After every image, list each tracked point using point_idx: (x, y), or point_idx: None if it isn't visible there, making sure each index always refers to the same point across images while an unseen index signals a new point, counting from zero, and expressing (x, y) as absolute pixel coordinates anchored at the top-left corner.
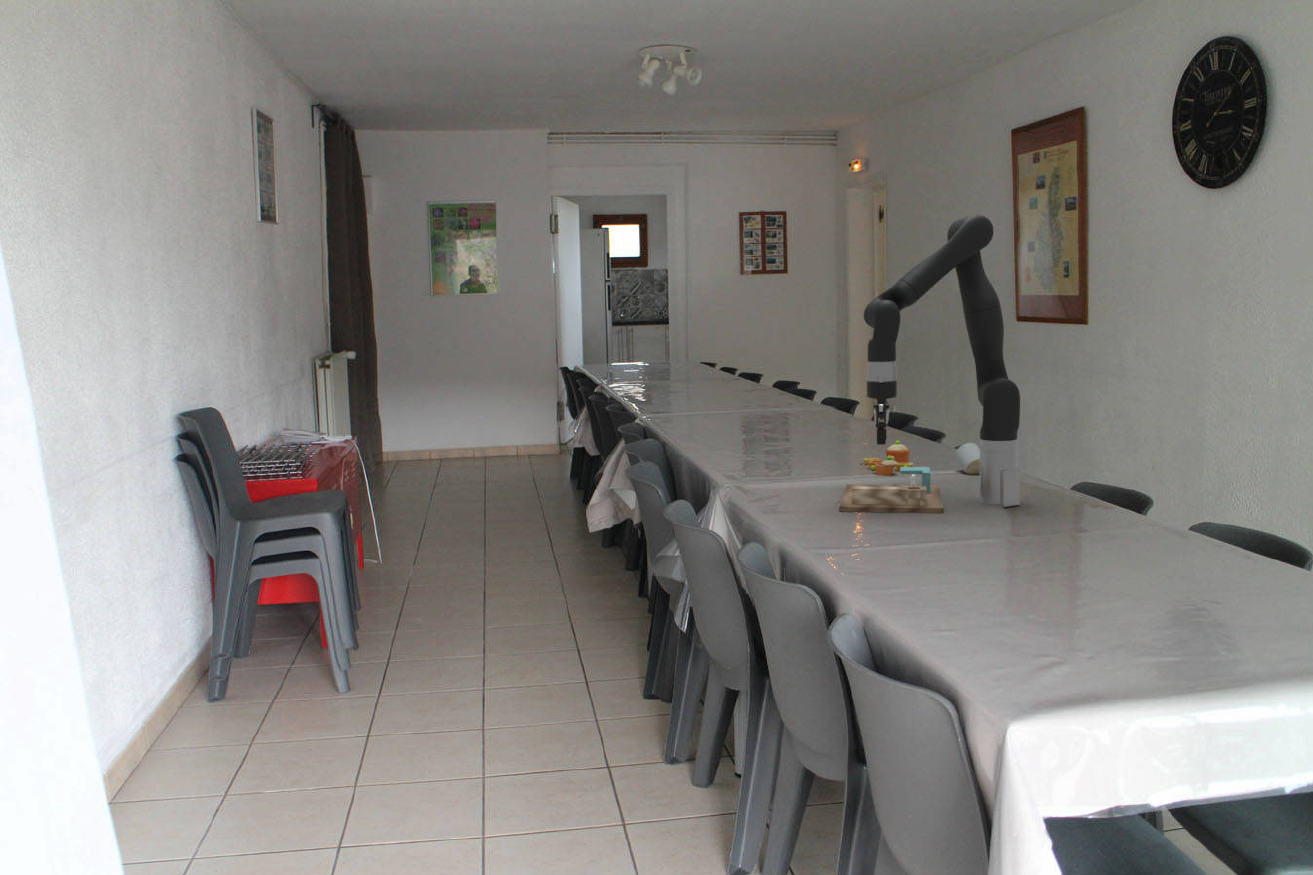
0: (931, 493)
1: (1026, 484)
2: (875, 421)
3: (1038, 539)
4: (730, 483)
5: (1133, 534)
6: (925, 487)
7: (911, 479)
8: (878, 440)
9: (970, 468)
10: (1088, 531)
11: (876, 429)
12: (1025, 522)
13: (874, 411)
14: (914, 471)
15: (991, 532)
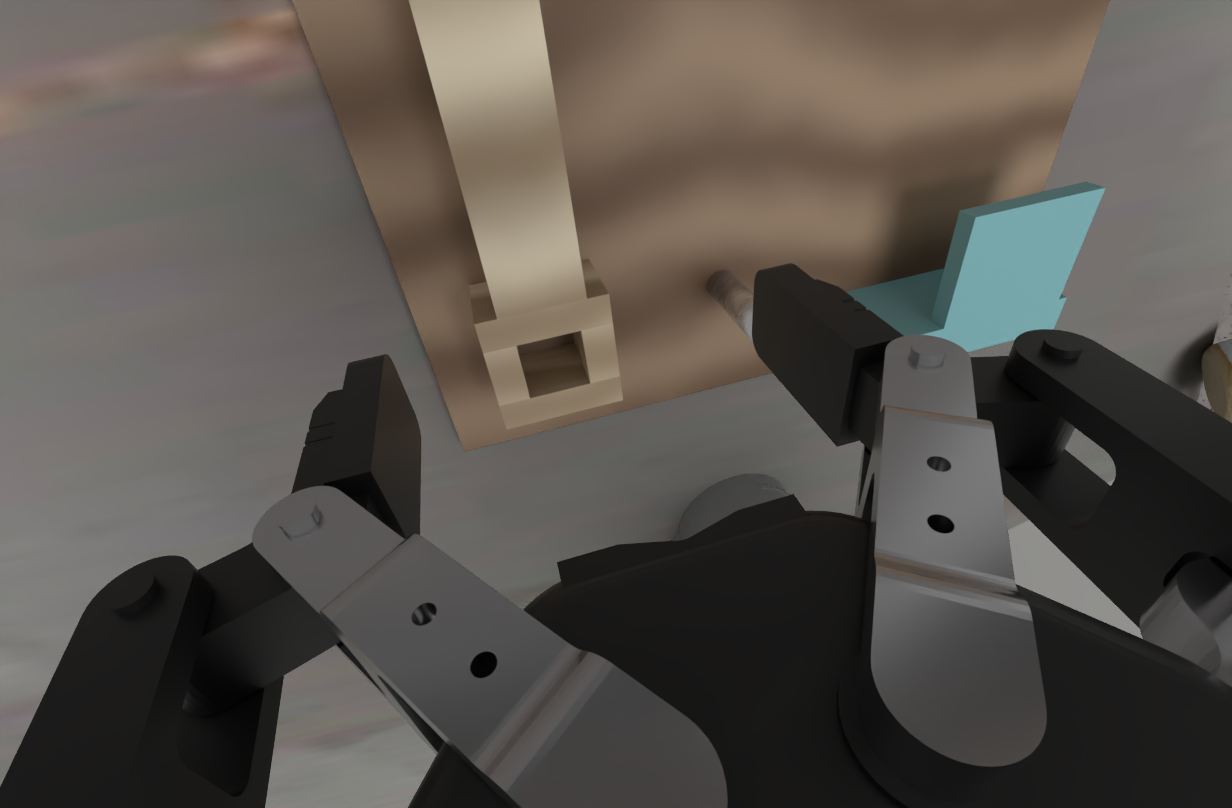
0: None
1: (1005, 505)
2: (382, 559)
3: None
4: None
5: (347, 794)
6: (588, 406)
7: (750, 317)
8: (314, 412)
9: (1218, 369)
10: (335, 750)
11: (290, 495)
12: None
13: (516, 725)
14: (950, 290)
15: None
